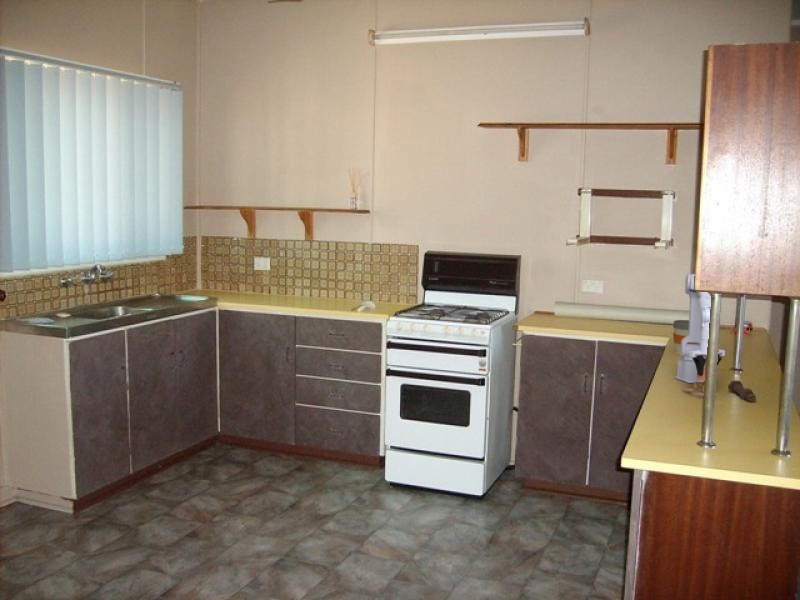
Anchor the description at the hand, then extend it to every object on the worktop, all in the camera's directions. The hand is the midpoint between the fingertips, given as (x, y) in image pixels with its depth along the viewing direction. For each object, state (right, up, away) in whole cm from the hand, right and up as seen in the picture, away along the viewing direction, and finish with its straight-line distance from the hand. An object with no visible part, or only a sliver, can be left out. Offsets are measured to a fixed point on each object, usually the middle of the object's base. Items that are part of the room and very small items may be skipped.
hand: (705, 374), depth 300 cm
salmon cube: (0, -2, 0) cm, 2 cm away
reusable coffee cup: (+21, +3, +80) cm, 83 cm away
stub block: (-1, -8, +4) cm, 9 cm away
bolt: (+14, -9, 0) cm, 17 cm away
